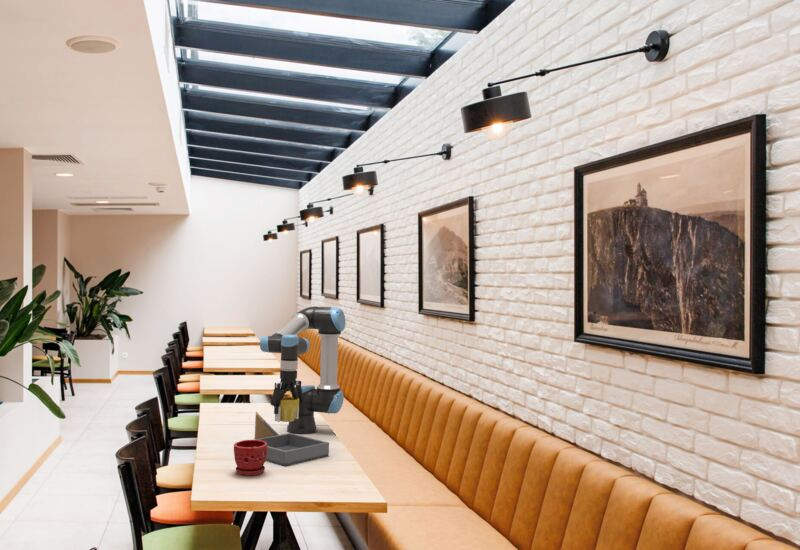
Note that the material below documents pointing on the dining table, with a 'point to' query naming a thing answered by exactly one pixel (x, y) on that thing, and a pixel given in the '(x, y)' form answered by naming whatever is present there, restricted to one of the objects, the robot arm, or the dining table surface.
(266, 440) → the crate
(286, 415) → the plant pot
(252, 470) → the plant pot
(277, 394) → the robot arm
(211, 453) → the dining table surface
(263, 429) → the sandwich container
